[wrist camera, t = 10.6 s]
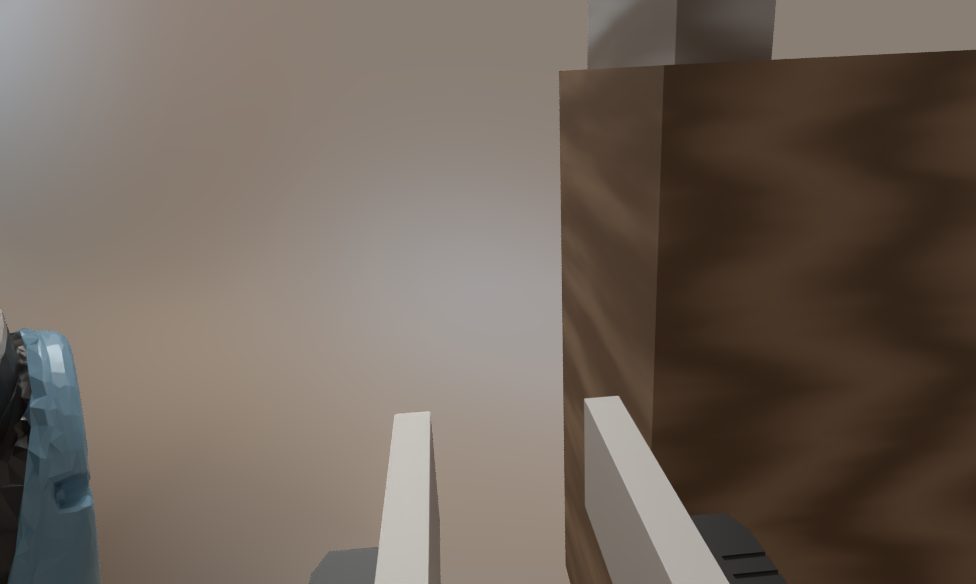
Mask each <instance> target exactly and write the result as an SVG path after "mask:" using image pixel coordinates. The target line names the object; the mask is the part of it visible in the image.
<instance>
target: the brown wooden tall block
mask: <svg viewBox="0 0 976 584" xmlns="http://www.w3.org/2000/svg"><path fill="white" fill-rule="evenodd" d="M775 5H776V0H588V70H571V71H559V94H560V166H561V167H560V168H561V169H560V170H561V171H560V172H561V243H562V244H561V246H562V323H563V397H564V472H565V473H564V474H565V543H566V544H565V549H566V568H567V572H568V576H569V579H570V583H571V584H613V583H612V580H611V578H610V575H609V572H608V569H607V566H606V564H605V561H604V558H603V555H602V552H601V550H600V547H599V544H598V541H597V538H596V536H595V533H594V530H593V527H592V524H591V522H590V519H589V516H588V513H587V510H586V508H585V449H584V399H585V398H597V397H609V396H619V397H620V399H621V401H622V403H623V404H624V406H625V408H626V409H627V411H628V413H629V414H630V416H631V418H632V419H633V421H634V423H635V425H636V426H637V428H638V430H639V431H640V433H641V435H642V436H643V438H644V440H645V441H646V443H647V445H648V447H649V448H650V450H651V452H652V453H653V455H654V457H655V458H656V460H657V462H658V464H659V465H660V467H661V469H662V470H663V472H664V474H665V475H666V477H667V479H668V480H669V482H670V484H671V486H672V487H673V489H674V491H675V492H676V494H677V496H678V497H679V499H680V501H681V502H682V504H683V506H684V508H685V509H686V511H687V513H688V514H689V516H693V515H704V514H715V513H727V514H728V515H729V516H731V517H732V518H734V519H735V520H736V521H738V522H739V523H741V524H742V525H743V526H745V527H746V528H748V529H749V530H750V531H751V532H752V534H753V535H754V537H755V538H756V539H757V541H758V542H759V544H760V545H761V547H762V548H763V549H764V551H765V554H766V556H769V558H770V559H771V561H772V562H773V563H774V565H775V566H776V568H777V569H778V573H779V575H782V576H783V578H784V579H785V580H786V582H787V583H788V584H976V50H963V51H944V52H924V53H923V52H922V53H902V54H882V55H862V56H843V57H821V58H801V59H782V60H781V59H780V60H771V56H772V55H771V54H772V43H773V30H774V18H775Z"/></svg>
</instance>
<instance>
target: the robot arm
mask: <svg viewBox="0 0 976 584" xmlns="http://www.w3.org/2000/svg"><path fill="white" fill-rule="evenodd" d="M584 449H585V508H586V510H587V513H588V516H589V519H590V522H591V524H592V527H593V530H594V533H595V536H596V538H597V541H598V544H599V547H600V550H601V552H602V555H603V558H604V561H605V564H606V566H607V569H608V572H609V575H610V578H611V580H612V583H613V584H788V583H787V582H786V580H785V579H784V578H783V576H782V575H779V573H778V569H777V568H776V566H775V565H774V563H773V562H772V561H771V559H770V558H769V556H766V554H765V551H764V549H763V548H762V547H761V545H760V544H759V542H758V541H757V539H756V538H755V537H754V535H753V534H752V532H751V531H750V530H749V529H748V528H746V527H745V526H743V525H742V524H741V523H739V522H738V521H736V520H735V519H734V518H732V517H731V516H729V515H728V514H727V513H715V514H704V515H693V516H689V514H688V513H687V511H686V509H685V508H684V506H683V504H682V502H681V501H680V499H679V497H678V496H677V494H676V492H675V491H674V489H673V487H672V486H671V484H670V482H669V480H668V479H667V477H666V475H665V474H664V472H663V470H662V469H661V467H660V465H659V464H658V462H657V460H656V458H655V457H654V455H653V453H652V452H651V450H650V448H649V447H648V445H647V443H646V441H645V440H644V438H643V436H642V435H641V433H640V431H639V430H638V428H637V426H636V425H635V423H634V421H633V419H632V418H631V416H630V414H629V413H628V411H627V409H626V408H625V406H624V404H623V403H622V401H621V399H620V397H619V396H609V397H597V398H585V399H584ZM87 452H88V450H87V440H86V432H85V426H84V418H83V411H82V404H81V398H80V392H79V386H78V380H77V374H76V369H75V364H74V359H73V354H72V350H71V347H70V344H69V341H68V340H67V338H66V337H65V336H64V335H62V334H61V333H59V332H55V331H49V330H48V331H38V332H37V331H35V330H32V329H26V328H22V329H20V330H18V331H15V332H10V333H9V330H8V327H7V324H6V321H5V318H4V315H3V313H2V311H1V309H0V584H101V569H100V556H99V546H98V535H97V526H96V517H95V509H94V502H93V497H92V491H91V489H90V485H89V480H90V472H89V464H88V457H87V456H88V455H87V454H88V453H87ZM309 584H440V518H439V508H438V495H437V484H436V472H435V460H434V449H433V438H432V426H431V415H430V411H428V412H415V413H403V414H395V416H394V425H393V433H392V441H391V449H390V458H389V466H388V475H387V484H386V492H385V500H384V508H383V517H382V526H381V534H380V542H379V547H373V548H363V549H351V550H341V551H330V552H328V553H327V555H326V556H325V557H324V558H323V560H322V561H321V562H320V564H319V565H318V566H317V567H316V569H315V570H314V571H313V573H312V574H311V577H310V582H309Z"/></svg>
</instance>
